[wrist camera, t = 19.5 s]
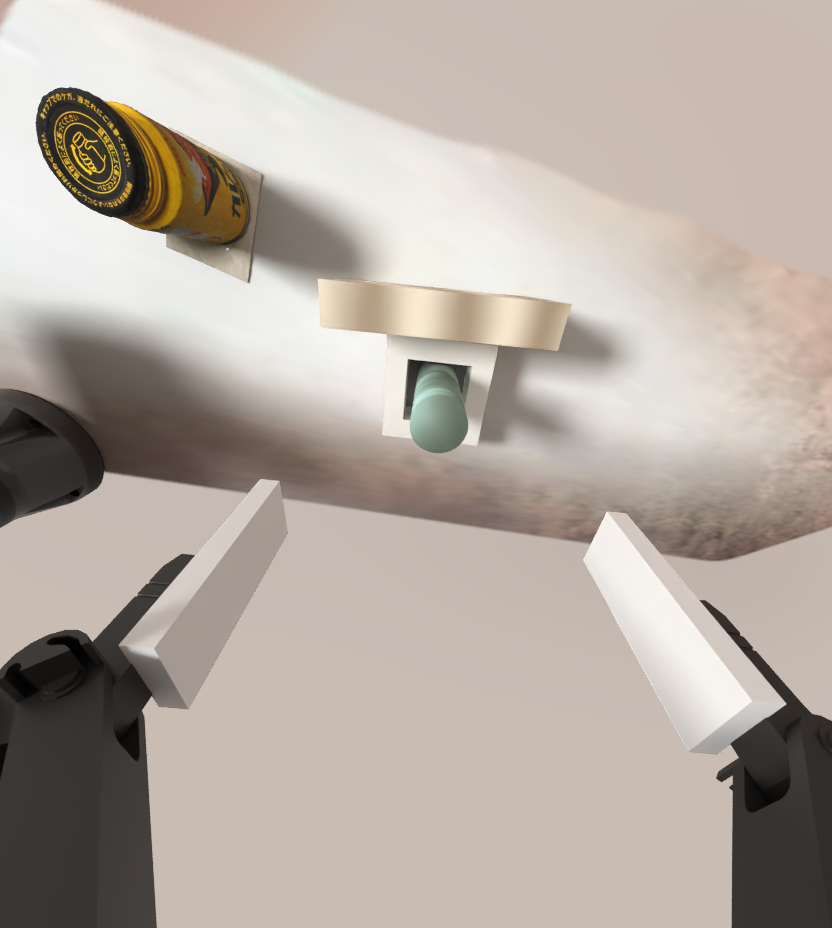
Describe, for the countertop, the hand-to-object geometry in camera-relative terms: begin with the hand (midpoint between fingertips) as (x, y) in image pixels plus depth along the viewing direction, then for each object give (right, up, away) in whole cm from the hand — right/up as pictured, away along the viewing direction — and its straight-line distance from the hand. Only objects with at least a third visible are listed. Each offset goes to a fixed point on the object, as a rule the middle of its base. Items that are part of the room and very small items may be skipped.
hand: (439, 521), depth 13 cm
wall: (+1, +18, +17) cm, 25 cm away
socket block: (+1, +11, +21) cm, 24 cm away
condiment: (-19, +24, +15) cm, 34 cm away
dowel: (+1, +12, +21) cm, 24 cm away
